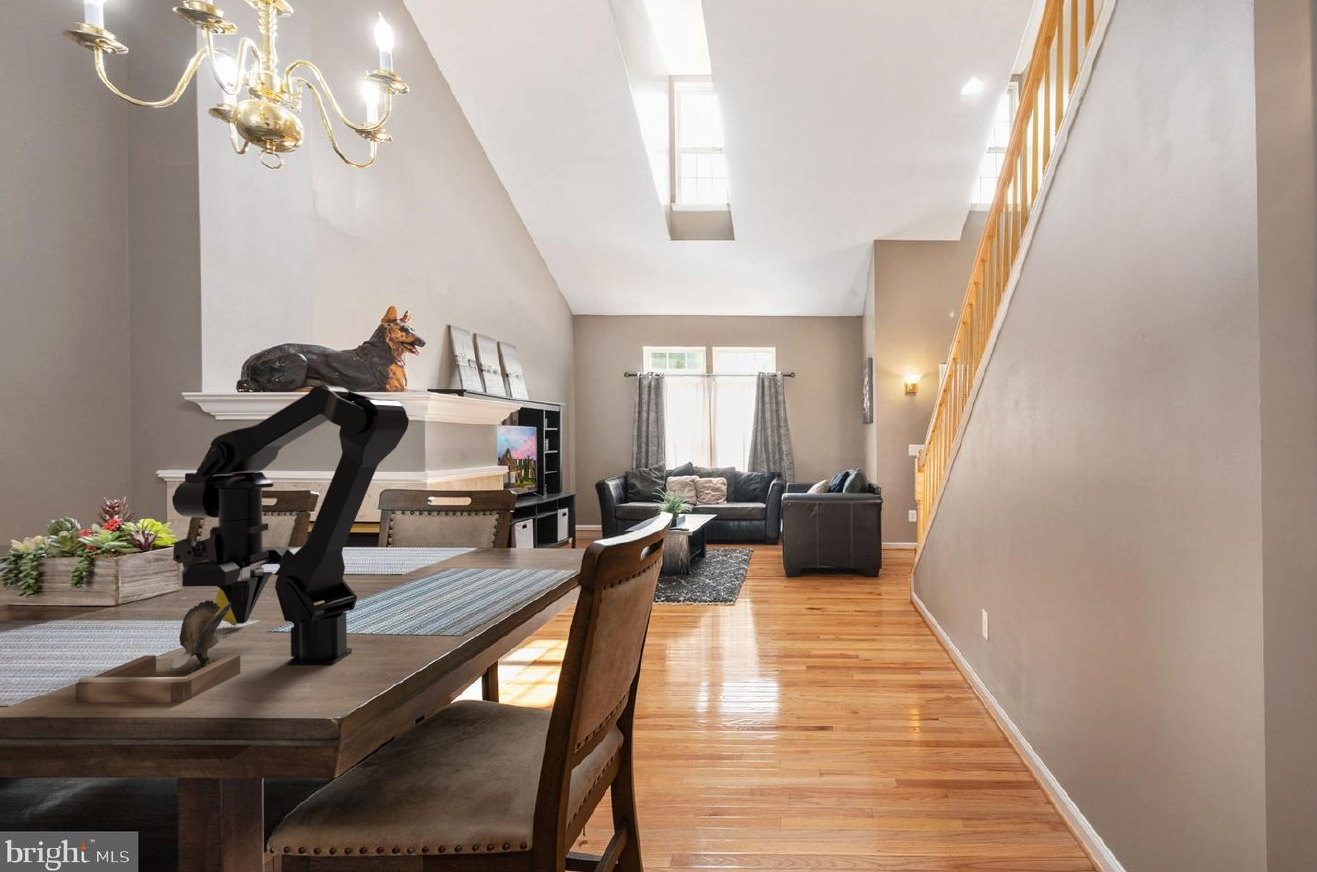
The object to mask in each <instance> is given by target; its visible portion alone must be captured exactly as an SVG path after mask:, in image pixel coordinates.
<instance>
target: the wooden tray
mask: <svg viewBox="0 0 1317 872" xmlns="http://www.w3.org/2000/svg"><path fill="white" fill-rule="evenodd" d="M155 674H157V655H152V654H151V655H147V654H146V655H143V656H140V657H138V658H136V659H133V660H131V661H128V662H125V663H123V664H121V665H119V666H116V667H113V668H110V669H109V670H106V671H104V672H100V673H99V674H96V675H94V676H89V677H85V676H84V677H81V678H78V682H77V683H75V702H76V703H185V702H187V701H189V700H191V699H193V698H195V697H197V696H199V695H201V694H203V693H205V692H206V691H209V690H210V689H213V688H215V687H217V686H219V685H221V684H223V683H224V682H227V681H229V680H231V679H233V678H235V677H236V676H238V675H240V674H241V655H240V654H229V655H227V656H225V657H223V658H220V659H218V660H216V661H214V662H212V664H210V665H208V666H206V667H202V668H198V669H196V671H195V670H194V671H193V673H190V674H187V675H185V676H159V677H158V676H155V677H154V676H153V675H155Z"/></svg>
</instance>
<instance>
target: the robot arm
mask: <svg viewBox="0 0 1317 872" xmlns="http://www.w3.org/2000/svg"><path fill="white" fill-rule="evenodd" d="M409 421H410V419H409V417H408V415H407V411H406V409H405V408H404V406H403V405H402V404H401V403H400V402H399V401H396V400H392V399H382V398H381V399H379V398H373V397H370V396H367V395H364V394H360V393H357V392H353V391H351V390H349V389H347V388H345V387H343V386H338V385H337V386H336V385H335V386H334V385H328V384H327V385H324V384H319V385H316V386H314V387H312V388H311V389H310V390H309V392H308V393H306V394H304V395H303V396H301V397H299V398H298V399H297V400H295V401H293V402H291V403H290V404H288V405H287V406H285V407H283V408H282V409H280V410H279V411H276V412H275V413H273V414H272V415H270V416H268V417H267V418H265V419H264V420H262V421H260V422H259V423H257V424H254V425H252V426H248V427H243V428H238V429H237V428H236V429H235V430H234V429H233V430H231V431H228V432H225V433H222V434H219V435H216V436H215V437H214V439H212V440H211V443H210V447H209V449H208V451H207V452H206V455H205V456H204V458H203V460H202V461H201V463H200V465H199V467H198V468H197V469H196V472H186V473H185V474H184V481H183V482H181V483H180V484H178V486H177V487H176V489H175V490H174V493H173V495H172V505H173V509H174V510H175V512H177V513H178V514H179V515H180V516H181V517H186V518H209V519H210V518H212V519H213V518H214V519H215V518H217V520H218V522H217V523H218V525H217V526H212V527H211V529H210V530H209V537H208V538H206V539H202V540H198V541H195V540H194V539H193V538H191V537H187V538H184V539H180V540H177V541H175V542H174V543H173V551H172V553H173V556H172V560H173V561H174V562H175V563H177V564H181V565H182V567H183V570H182V571H181V587H217V588H218V589H221V590H222V591H223V592H224V594H225V596H226V598H227V600H228V602H229V603H230V602H231V605H230V607H231V610H232V612H233V615H234V617H235V620H236V622H237V623H238V624H239V625H241V624H245V623H247V622H248V620H249V618H250V616H251V614H252V612H253V610H254V608H255V605H256V603H257V601H258V599H259V598H260V595H261V593H262V591H263V590H264V588H265V586H266V584H267V583H268V581H269V579H270V577H272V576H273V571H265V569H264V567H262V566H265V565H279V568H278V569H277V570H276V572H275V573H274V576H277V577H276V579H275V580H276V581H275V584H274V586H275V587H274V590H275V592H276V595H277V599H278V603H279V606H280V609H281V613H282V616H283V620H284V621H285V622H289V623H292V624H293V626H292V627H291V628H290V630H289V631H290V633H289V634H290V657H291V658H290V659H288V660H287V665H334V664H336V663H337V662H338V661H341V660H342V659H343V658H345V657H347V656H348V655H349V654H350V653H352V652H353V648H351V647H348V644H347V643H348V637H347V635H348V634H347V633H348V631H347V630H348V629H347V627H348V626H347V621H348V619H347V618H348V617H347V616H348V615H347V612H349V611H354V610H355V607H356V604H357V600H358V596H357V594H355V591H354V590H353V589H351V587H350V586H349V585H348V584H347V582H346V581H345V579H344V573H345V571H346V566H345V562H344V561H345V560H344V557H343V550H344V548H345V544H346V542H347V540H348V538H349V535H350V532H351V530H352V529H353V525H354V524H355V521H356V519H357V516H358V514H359V510H360V509H361V506H362V504H363V502H364V499H365V497H366V494H367V492H368V489H369V487H370V484H371V483H372V480H373V478H374V475H375V472H376V470H377V468H378V466H379V465H380V463H381V462H382V461H383V460H384V459H385V458H387V457H388V456H389V455H390V454H391V453H392V452H393V451H395V449H396V448H397V446H398V445H399V443H400V441H401V440H402V438H403V437H404V435H405V434H406V432H407V430H408V427H409ZM326 422H330V423H332V424H334V425H336V426H338V427H340V429H339V433H338V436H339V441H340V447H341V456H340V459H339V461H338V464H337V466H336V468H335V470H334V471H335V472H334V474H333V475H332V479H331V481H330V483H329V486H328V488H327V490H326V493H325V496H324V498H323V501H322V502H321V505H320V508H319V510H318V512H317V515H316V517H315V520H314V522H313V525H312V526H311V527H312V528H311V530H310V533H309V534H308V538H307V540H306V542H305V543H304V544H303V545H302V546H300V547H293V548H288V546H263V532H264V531H269V523H268V522H266V523H265V522H263V489H265V488H272V487H274V482H272V481H271V480H270V479H269V478H268V477H267V476H265V474H264V473H263V472H262V471H263V470H265V469H266V467H268V466H269V465H270V464H272V463H273V462H274V461H275V460H276V459H277V457H278V455H279V452H280V450H282V449H283V448H284V447H285V446H287V445H288V444H290V443H292V442H294V441H295V440H296V439H297V440H298V439H299V438H300V437H302V436H304V435H306V434H307V433H309V432H310V431H312V430H314V429H316V428H317V427H319V426H320V425H322V424H324V423H326ZM319 602H322V603H319ZM317 603H318V604H317ZM238 624H237V625H238Z"/></svg>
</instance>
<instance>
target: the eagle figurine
mask: <svg viewBox="0 0 1317 872" xmlns="http://www.w3.org/2000/svg"><path fill="white" fill-rule="evenodd" d="M230 605H231V602H230V603H229V604H227V605H226V606H225V607H224V609H223V610H222V611H221V612H220V613H219V614H217V612H218V611H219V609H220V606H218V605H217V603H215V600H205V601H204V602H203V601H200V602H199V603H198V605H194V606H193V608H190V609H189V610H188V611H187V613H186V614H185V616H184V617H183V619H182V620H183V621H182V623H181V628H180V634H179V644H180V645H181V647H182V648H184V649H185V652H184V653H183V654H180V655H178V656H176V657H175V658H174V659H173V661H172V664H171V668H172V669H174V670H176V669H179V668H181V667H183V666H184V665H186V664H187V663H188V662H189V661H190V659H191V658H193V656H196V658H197V660H198V661H199V663H194V664H193V665H192V667H191V668H190V669H189V673H190V674H191V673H193V672H195V670H199V669H201V668H203V667H206V666H208V665H210V664H212V663H213V662H212V661H210V658H209V656H208V651H209V650H210V649H212V648H214V647H215V646H216V645H217V644H218V643H219V642H221V641H222V640H224V639H227V635H225V634H217V635H215V633H216V630H217V629H218V627H219V625H221V623H222V621H223V620H222V619H223V617H224V616H225V615H226V614H227V612H228V611H229V609H230Z"/></svg>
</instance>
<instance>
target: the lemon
mask: <svg viewBox="0 0 1317 872" xmlns="http://www.w3.org/2000/svg"><path fill="white" fill-rule="evenodd" d="M214 603H217V605H218V606H220V609H219V611H218V612H217V613H216V615H217V614H219V613H220V612H221V611H222V610H223V609H224V607H225V606H226V605H227V604H229V602H228V600H227V598H226V596H225V594H224V592H223V591H222V590H221V589H220V588H218V590H217V593H216V596H215V600H214ZM222 621H224V622H227V623H228V624H229V625H231V626H237V625H238V623H237V622H236V620H235V617H234V615H233V612H232V610H231V607H230V609H229V611H228V612H227V614H226V615H225V616H224V617H223V619H222Z"/></svg>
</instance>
